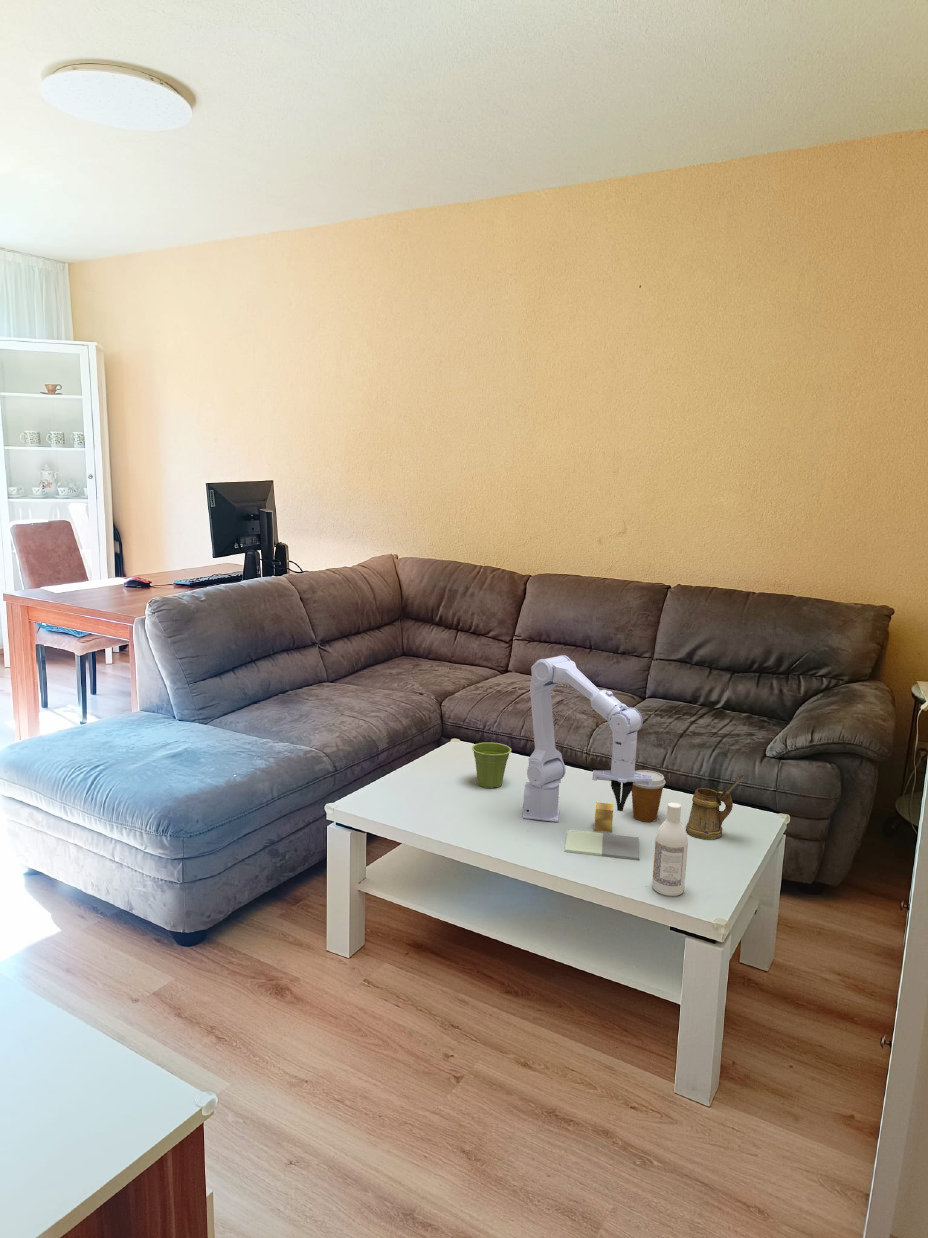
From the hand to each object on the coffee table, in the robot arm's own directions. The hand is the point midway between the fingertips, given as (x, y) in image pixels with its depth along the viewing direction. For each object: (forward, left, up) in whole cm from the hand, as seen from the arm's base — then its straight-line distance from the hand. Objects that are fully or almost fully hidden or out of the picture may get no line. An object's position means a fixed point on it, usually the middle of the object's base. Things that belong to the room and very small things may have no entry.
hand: (620, 809), depth 200 cm
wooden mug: (+24, +13, -10) cm, 29 cm away
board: (-4, -1, -9) cm, 10 cm away
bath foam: (+11, -20, -10) cm, 25 cm away
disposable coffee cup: (+7, +20, -10) cm, 23 cm away
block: (-4, +10, -10) cm, 14 cm away
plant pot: (-38, +33, -10) cm, 51 cm away
